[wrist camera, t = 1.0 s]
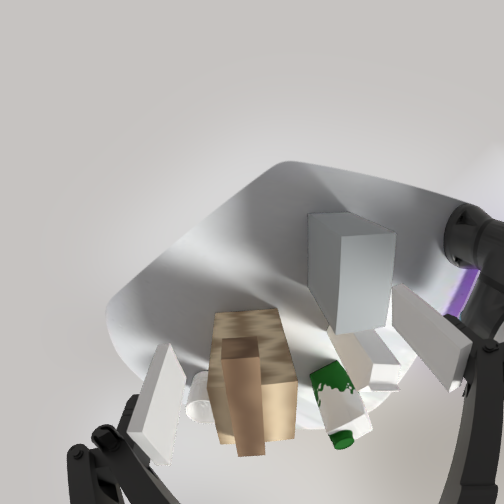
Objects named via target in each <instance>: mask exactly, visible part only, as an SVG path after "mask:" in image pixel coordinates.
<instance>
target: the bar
mask: <svg viewBox="0 0 504 504" xmlns="http://www.w3.org/2000/svg"><path fill="white" fill-rule="evenodd" d="M221 364H222V370H223V376H224V382H225V388H226V394H227V400H228V406H229V411H230V417H231V422H232V427H233V433H234V438H235V443H236V448H237V453H238V457H242V456H259V455H265V440H264V423H263V406H262V389H261V373H260V356H259V349H258V341H257V336H252V337H238V338H222V349H221Z"/></svg>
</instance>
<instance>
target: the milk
mask: <svg viewBox="0 0 504 504" xmlns="http://www.w3.org/2000/svg"><path fill="white" fill-rule="evenodd" d="M326 332H327V334H328V336H329V338H330V340H331V342H332V344H333V346H334V348H335V350H336V352H337V353H338V355H339V357H340V359H341V361H342V363H343V365H344V367H345V369H346V371H347V373H348V375H349V377H350V379H351V381H352V383H353V385H354V387H355V389H356V391H357V392H394V391H400V389H399V387H398V385H397V384H398V379H399V374H400V369H401V364H400V363H399V361H398V360H397V359H396V357H395V356H394V355H393V353H392V352H391V351H390V350H389V348H388V347H387V346H386V344H385V343H384V342H383V340H382V339H381V338H380V336H379V335H378V334H377V333H376V331H375V330H374V329H369V330H363V331H358V332H352V333H345V334H339V335H335V333H334V332H333V330H332V328H331V326H330V325H329V327H328V329H327V331H326Z"/></svg>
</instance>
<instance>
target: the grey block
mask: <svg viewBox="0 0 504 504" xmlns="http://www.w3.org/2000/svg"><path fill="white" fill-rule="evenodd" d="M396 235H397V233H395V232H393V231H391V230H389V229H387V228H385V227H383V226H380V225H378V224H376V223H374V222H371V221H369V220H367V219H365V218H362V217H360V216H358V215H356V214H353V213H351V212H332V213H310V214H308V288H309V290H310V291H311V293H312V295H313V296H314V298H315V300H316V302H317V303H318V305H319V307H320V309H321V310H322V312H323V314H324V316H325V317H326V319H327V321H328V323H329V325H330V326H331V328H332V330H333V332H334V333H335V335H339V334H345V333H352V332H358V331H363V330H369V329H375V328H380V327H385V325H386V319H387V313H388V307H389V300H390V293H391V286H392V278H393V269H394V259H395V248H396Z"/></svg>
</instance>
